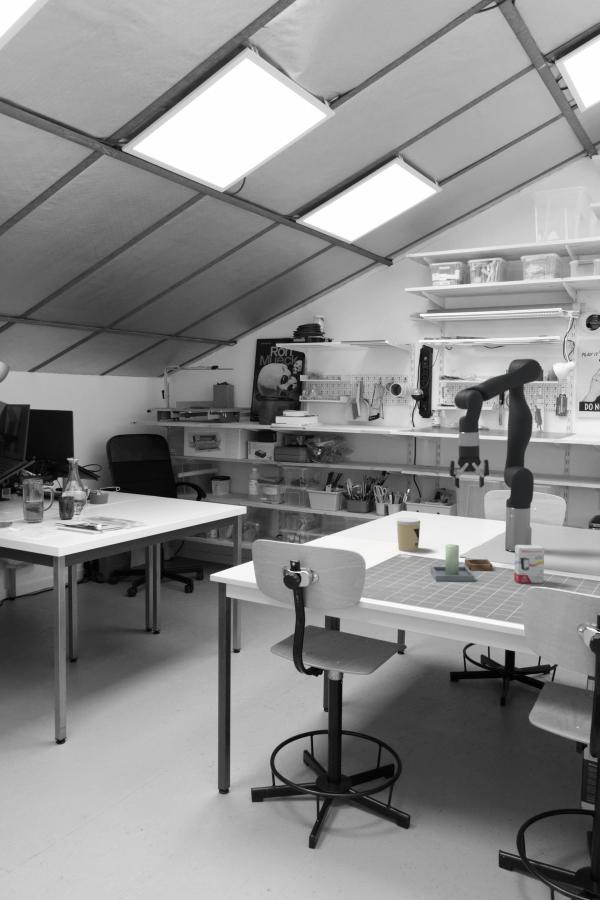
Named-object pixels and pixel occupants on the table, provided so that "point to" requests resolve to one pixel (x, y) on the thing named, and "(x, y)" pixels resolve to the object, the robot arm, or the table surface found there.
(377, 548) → the table surface
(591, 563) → the table surface
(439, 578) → the tray
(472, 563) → the socket
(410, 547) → the coffee cup
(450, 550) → the peg
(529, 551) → the ink box
